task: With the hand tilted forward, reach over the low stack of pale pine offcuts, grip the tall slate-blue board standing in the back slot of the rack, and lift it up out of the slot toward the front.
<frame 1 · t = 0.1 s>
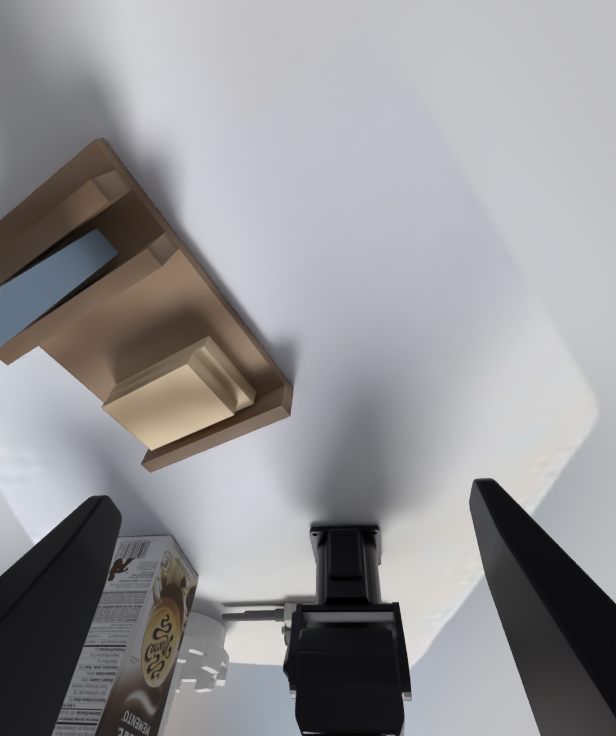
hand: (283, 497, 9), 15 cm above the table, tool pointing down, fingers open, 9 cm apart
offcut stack: (185, 388, 26), point 1 cm above the table, touching rack
rack: (141, 330, 24), on the table
coffee box: (160, 556, 41), on the table
board: (69, 268, 21), point 1 cm above the table, touching rack
walkie-talkie: (308, 612, 49), on the table
flag stand: (186, 625, 52), on the table
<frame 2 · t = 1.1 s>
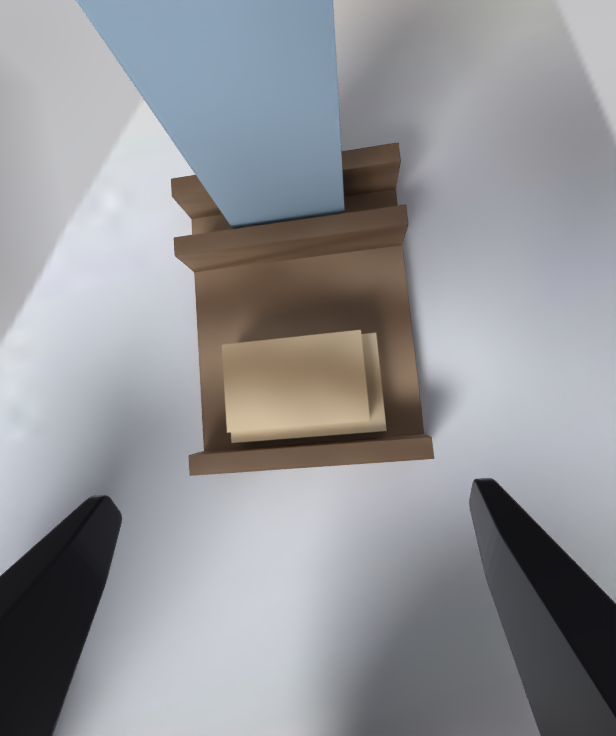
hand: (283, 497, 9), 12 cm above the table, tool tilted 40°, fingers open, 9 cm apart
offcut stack: (306, 389, 21), point 1 cm above the table, touching rack
rack: (301, 311, 22), on the table
board: (292, 223, 22), point 1 cm above the table, touching rack
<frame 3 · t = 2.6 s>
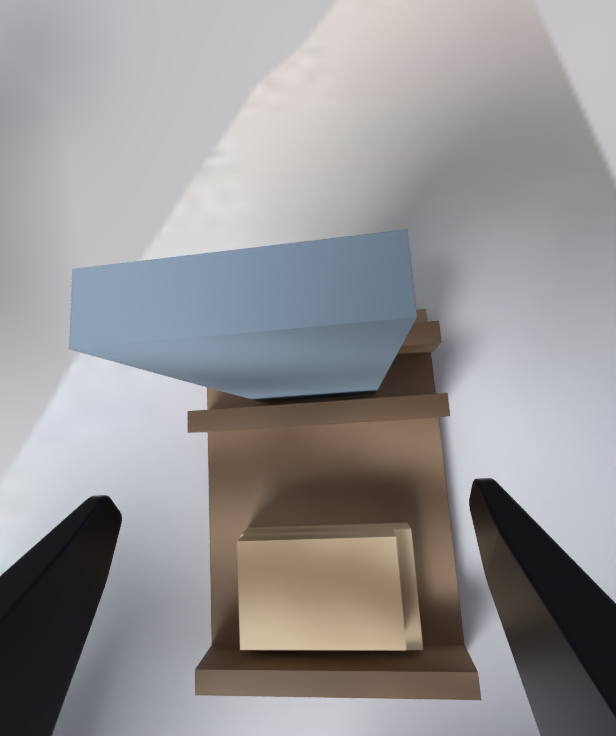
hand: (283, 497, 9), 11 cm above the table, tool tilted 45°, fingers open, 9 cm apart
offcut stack: (329, 579, 19), point 1 cm above the table, touching rack
rack: (324, 479, 20), on the table
board: (316, 383, 20), point 1 cm above the table, touching rack
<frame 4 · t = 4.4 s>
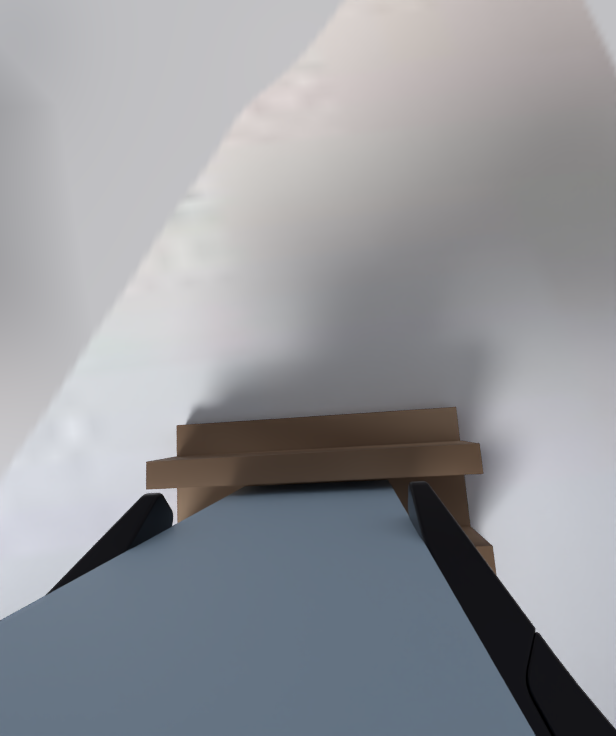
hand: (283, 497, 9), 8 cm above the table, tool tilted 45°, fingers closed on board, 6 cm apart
rack: (325, 623, 16), on the table
board: (315, 501, 16), point 1 cm above the table, touching gripper, rack
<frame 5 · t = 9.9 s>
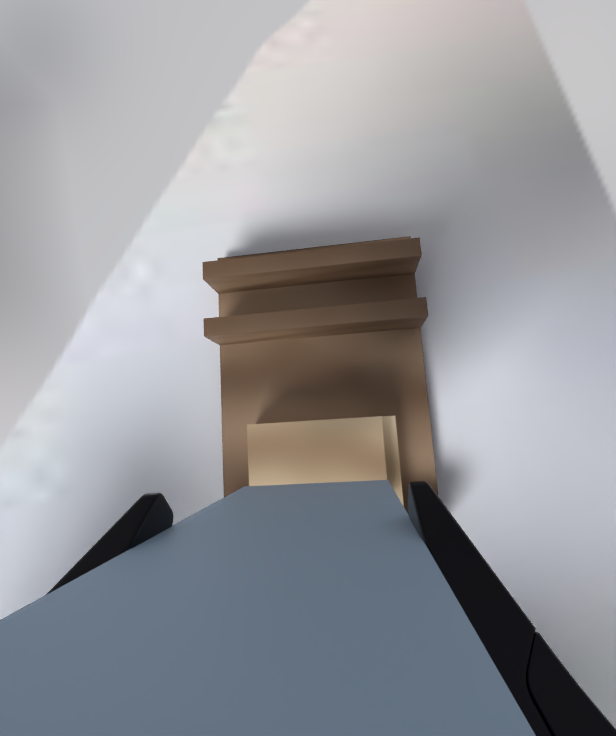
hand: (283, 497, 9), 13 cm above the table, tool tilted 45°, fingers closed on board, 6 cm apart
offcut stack: (325, 464, 22), point 1 cm above the table, touching rack
rack: (321, 385, 23), on the table
board: (315, 501, 16), point 7 cm above the table, touching gripper
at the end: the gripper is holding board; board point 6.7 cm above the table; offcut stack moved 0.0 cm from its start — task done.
